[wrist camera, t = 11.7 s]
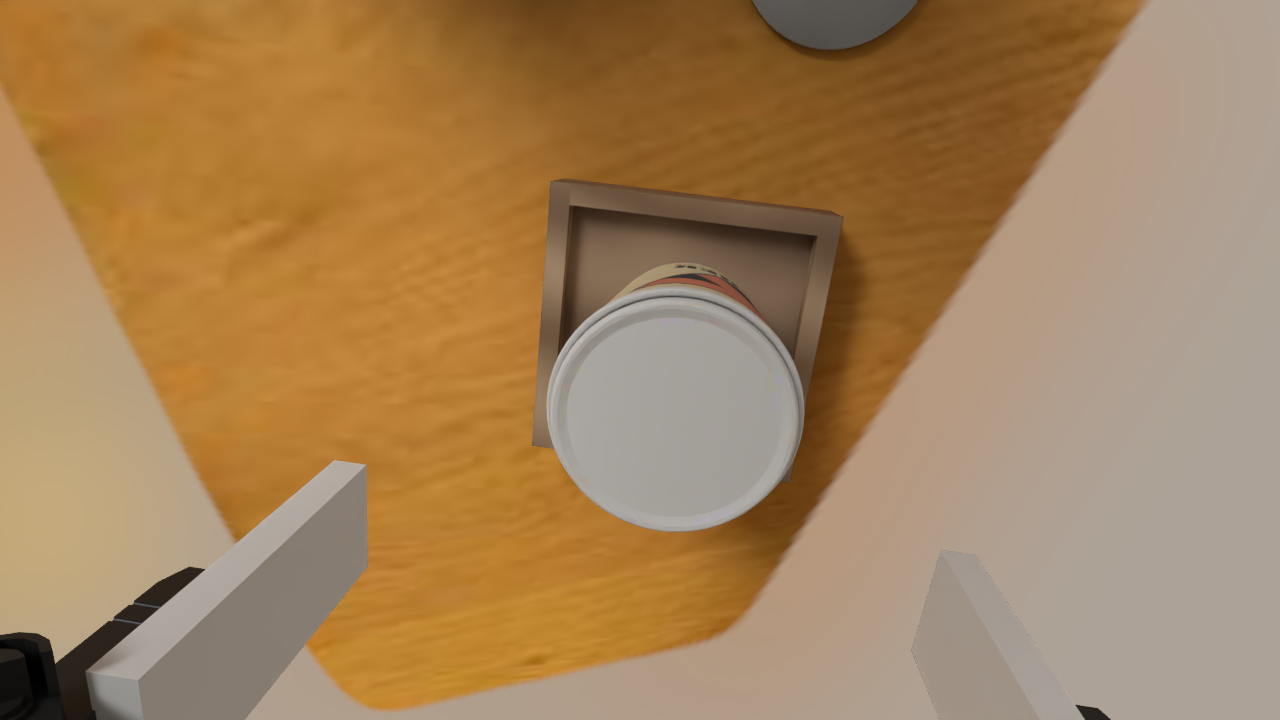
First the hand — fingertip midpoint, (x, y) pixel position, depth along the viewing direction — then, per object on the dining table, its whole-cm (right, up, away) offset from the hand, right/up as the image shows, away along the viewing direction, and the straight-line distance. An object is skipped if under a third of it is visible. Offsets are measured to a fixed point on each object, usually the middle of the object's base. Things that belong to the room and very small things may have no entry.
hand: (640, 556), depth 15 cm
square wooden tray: (+2, +7, +22) cm, 23 cm away
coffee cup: (+2, +6, +20) cm, 21 cm away
